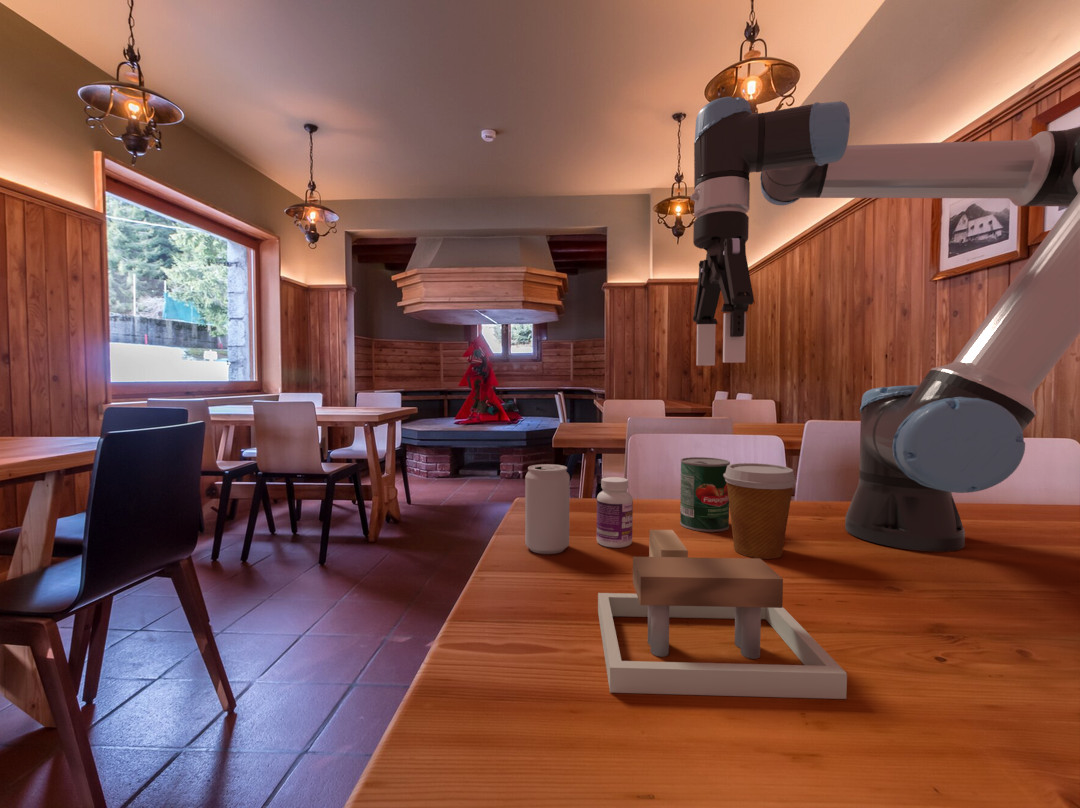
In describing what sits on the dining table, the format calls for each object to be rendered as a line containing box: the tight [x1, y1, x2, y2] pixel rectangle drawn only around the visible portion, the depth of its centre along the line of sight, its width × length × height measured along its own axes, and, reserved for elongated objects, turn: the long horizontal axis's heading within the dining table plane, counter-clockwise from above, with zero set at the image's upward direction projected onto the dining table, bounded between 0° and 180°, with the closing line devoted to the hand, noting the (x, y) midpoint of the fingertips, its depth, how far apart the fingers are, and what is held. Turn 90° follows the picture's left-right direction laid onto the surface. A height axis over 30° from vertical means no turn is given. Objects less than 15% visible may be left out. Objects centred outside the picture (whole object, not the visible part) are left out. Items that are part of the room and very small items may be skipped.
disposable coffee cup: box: [723, 462, 798, 560], centre depth 72 cm, size 10×10×12 cm
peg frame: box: [597, 592, 848, 700], centre depth 46 cm, size 18×14×5 cm
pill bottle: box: [596, 476, 634, 549], centre depth 76 cm, size 5×5×10 cm
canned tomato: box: [679, 456, 731, 533], centre depth 86 cm, size 8×8×11 cm
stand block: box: [648, 529, 689, 557], centre depth 62 cm, size 3×8×5 cm, turn 177°
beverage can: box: [524, 463, 571, 555], centre depth 74 cm, size 6×6×12 cm
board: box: [632, 556, 784, 608], centre depth 46 cm, size 12×5×2 cm, turn 87°
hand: (718, 364), depth 75 cm, fingers open, 13 cm apart
